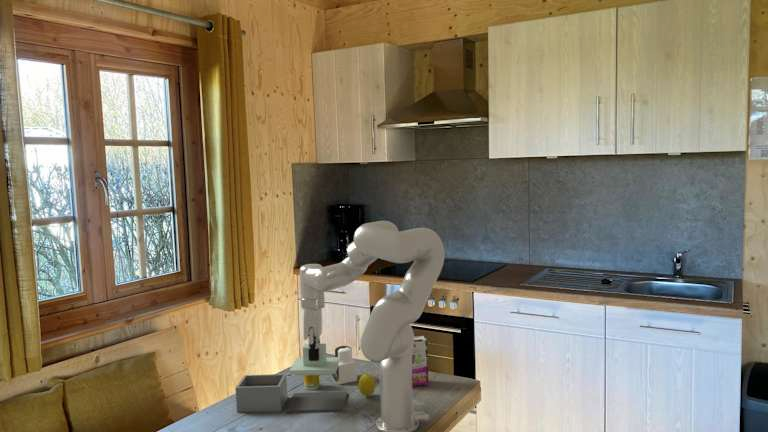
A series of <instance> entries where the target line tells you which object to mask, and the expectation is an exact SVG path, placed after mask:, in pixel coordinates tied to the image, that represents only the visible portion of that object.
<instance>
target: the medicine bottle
mask: <svg viewBox="0 0 768 432" xmlns="http://www.w3.org/2000/svg"><path fill="white" fill-rule="evenodd" d="M352 351H353V350H352V347H350V346H348V345H341V346H338V347H336V348H335V349H334V357H339V359H340V361H339V364H338V368H337V371H336V373H332V375H331V379H332V380H334V382H336V383H337V384H338V385H340V386H341V385H344V384H348V383H354V382H357V381H358V368H357V361H356V360H355V359H353V352H352Z"/></svg>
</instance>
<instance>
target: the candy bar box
mask: <svg viewBox="0 0 768 432" xmlns="http://www.w3.org/2000/svg"><path fill="white" fill-rule="evenodd" d="M423 386H429V365H428V341H427V338H426V337H425V335H420V336H419V335H417V336H415V335H414V345H413V352H412V388H413V387H423Z"/></svg>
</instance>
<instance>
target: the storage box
mask: <svg viewBox="0 0 768 432" xmlns="http://www.w3.org/2000/svg"><path fill="white" fill-rule="evenodd" d="M287 381H288V380H287V374H286V373H278V374H274V373H272V374H245V375H244V376H242V378H241V380H240V381H239V382H238V384H237V385H236V387H235V398H236V401H235V403H236V412H237V413H250V412H251V413H256V412H257V413H258V412H259V413H261V412H281V411H282V410H283V407H284V406H285V404H286V401H287V399H288V382H287Z"/></svg>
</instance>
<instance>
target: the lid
mask: <svg viewBox="0 0 768 432" xmlns="http://www.w3.org/2000/svg"><path fill="white" fill-rule="evenodd" d="M318 348H319V360H318V361H309V350H308V349H309V343H304V345H303V347H302V357H296V358H295V359H294V361H293V363H292V365H291V366H290V369H289V375H295V376H304V375H319V376H332V373H336V371H337V368H338V364H339V361H340V359H339V357H335V356H334V357H333V356H332V357H331V356H329V357H328V356H327V343H321V344H318Z"/></svg>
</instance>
